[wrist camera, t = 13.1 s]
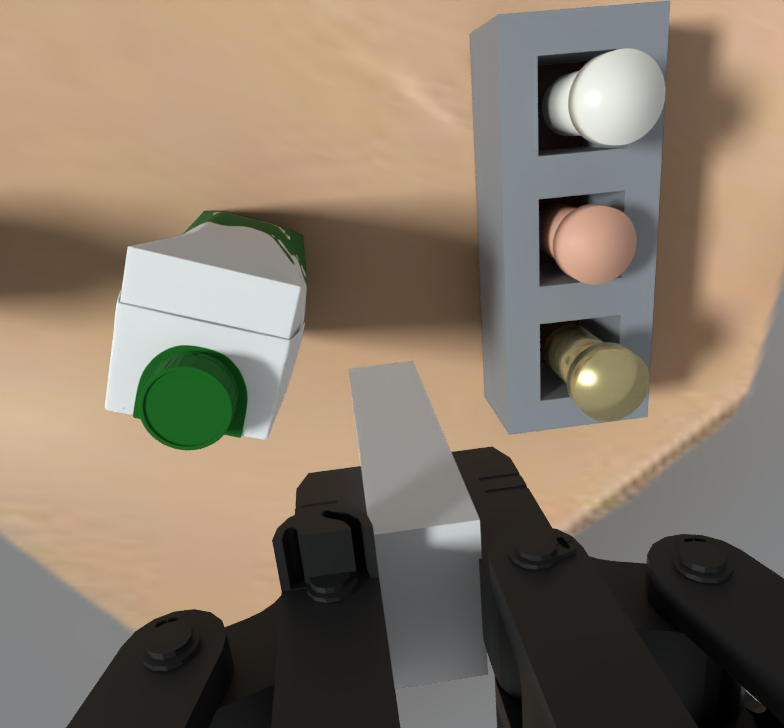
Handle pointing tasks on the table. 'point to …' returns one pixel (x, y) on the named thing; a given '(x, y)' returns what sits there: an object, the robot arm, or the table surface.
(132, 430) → the table surface
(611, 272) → the pink rounded piece
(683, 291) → the table surface
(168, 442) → the milk carton
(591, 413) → the brass plunger
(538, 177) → the block
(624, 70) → the white rounded piece
